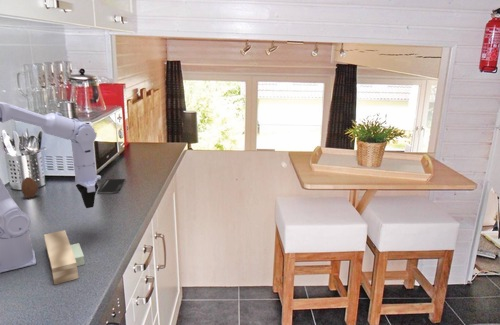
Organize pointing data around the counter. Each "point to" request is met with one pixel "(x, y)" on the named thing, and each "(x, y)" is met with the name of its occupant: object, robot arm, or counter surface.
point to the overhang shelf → (61, 257)
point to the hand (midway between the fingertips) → (89, 206)
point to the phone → (111, 186)
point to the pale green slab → (78, 254)
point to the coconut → (29, 187)
